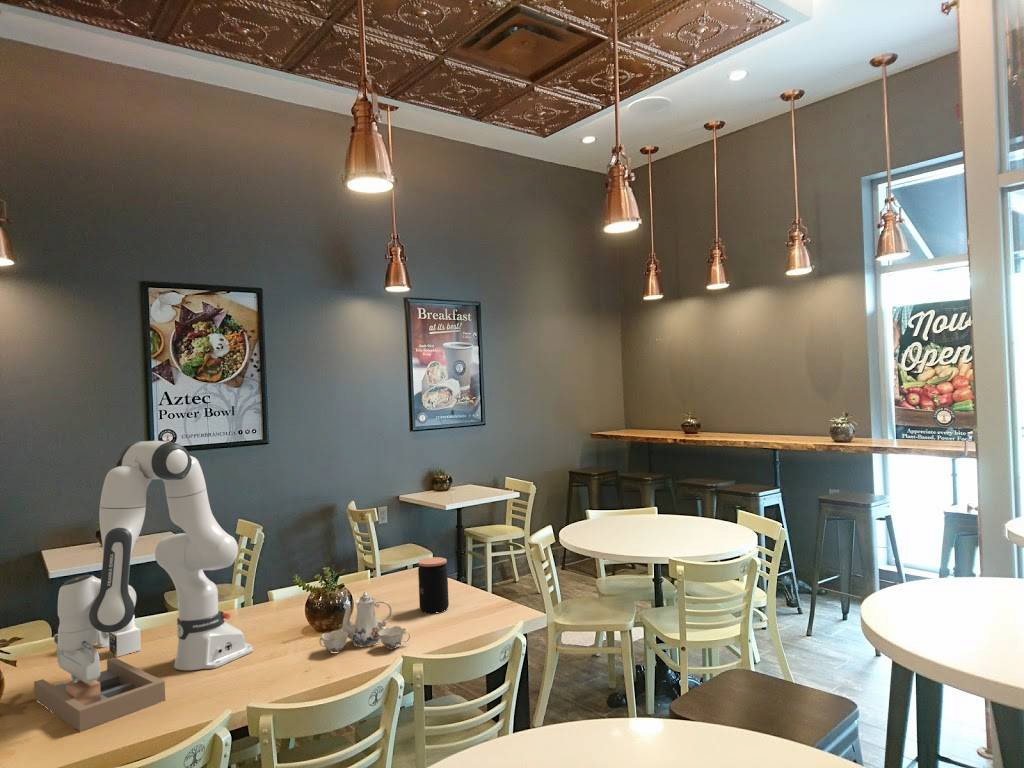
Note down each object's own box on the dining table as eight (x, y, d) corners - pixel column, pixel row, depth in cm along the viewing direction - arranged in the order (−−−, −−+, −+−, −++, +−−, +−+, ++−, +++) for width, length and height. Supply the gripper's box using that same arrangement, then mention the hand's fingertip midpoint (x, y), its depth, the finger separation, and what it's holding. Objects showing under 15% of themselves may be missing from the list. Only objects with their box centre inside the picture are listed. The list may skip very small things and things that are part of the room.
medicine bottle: (109, 652, 214) (108, 615, 214) (133, 646, 219) (132, 609, 219) (116, 657, 209) (115, 619, 209) (141, 650, 214) (140, 613, 215)
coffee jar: (424, 605, 250) (422, 557, 251) (451, 605, 248) (449, 557, 249) (416, 614, 239) (414, 564, 240) (445, 614, 238) (442, 563, 238)
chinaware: (317, 665, 200) (314, 611, 199) (322, 640, 216) (320, 591, 215) (410, 655, 205) (408, 602, 204) (409, 631, 221) (407, 583, 220)
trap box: (114, 674, 195) (114, 657, 195) (165, 700, 176) (164, 681, 176) (34, 700, 179) (34, 681, 180) (80, 732, 160) (79, 711, 160)
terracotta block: (92, 694, 176) (91, 677, 177) (100, 700, 173) (100, 682, 173) (66, 703, 172) (65, 685, 172) (74, 709, 168) (74, 691, 168)
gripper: (106, 642, 173) (107, 695, 172) (77, 628, 185) (78, 678, 185) (79, 649, 168) (80, 705, 167) (51, 634, 180) (52, 686, 180)
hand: (79, 690), depth 176 cm, fingers closed
